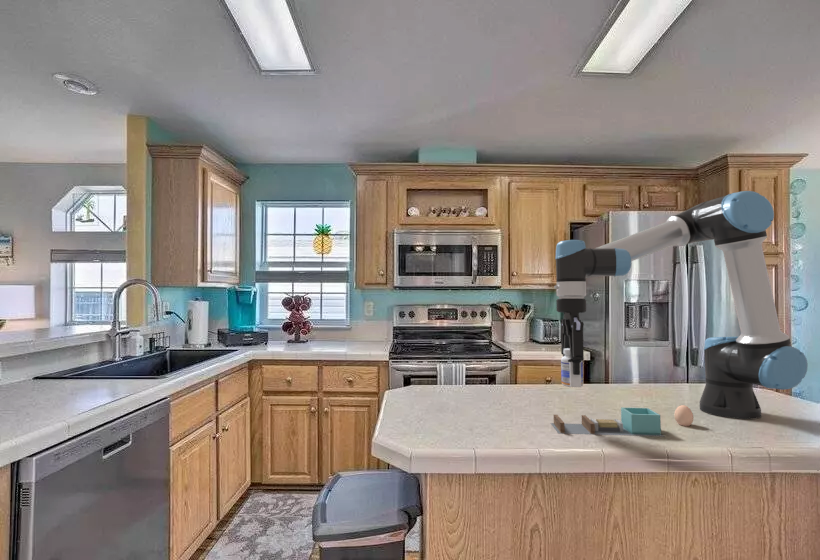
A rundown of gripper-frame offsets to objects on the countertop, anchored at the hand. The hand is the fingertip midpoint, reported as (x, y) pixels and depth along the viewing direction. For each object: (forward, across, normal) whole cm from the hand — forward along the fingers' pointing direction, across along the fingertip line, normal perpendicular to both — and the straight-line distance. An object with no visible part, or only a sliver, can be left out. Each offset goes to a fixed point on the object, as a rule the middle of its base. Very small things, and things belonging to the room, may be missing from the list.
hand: (572, 384), depth 115 cm
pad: (+11, 0, +9) cm, 14 cm away
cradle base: (+12, 0, +9) cm, 14 cm away
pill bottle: (+1, 0, 0) cm, 1 cm away
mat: (+12, 0, +8) cm, 14 cm away
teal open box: (+12, 0, +17) cm, 21 cm away
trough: (+12, 0, 0) cm, 12 cm away
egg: (+12, -6, +31) cm, 34 cm away
